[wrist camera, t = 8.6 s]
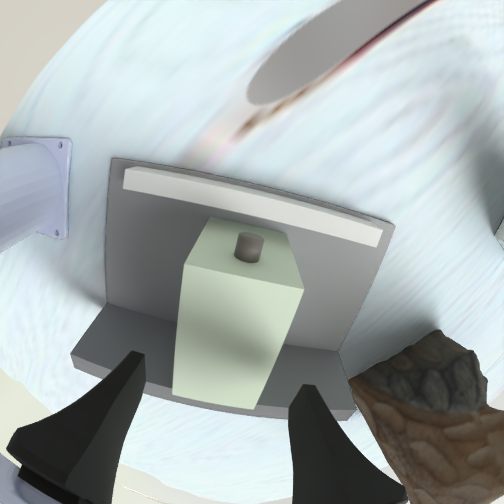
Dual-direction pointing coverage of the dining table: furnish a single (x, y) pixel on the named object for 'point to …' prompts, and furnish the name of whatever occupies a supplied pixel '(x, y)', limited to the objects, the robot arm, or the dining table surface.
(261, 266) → the cabinet block
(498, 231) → the supplement box
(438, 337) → the owl
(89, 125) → the dining table surface
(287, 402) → the grey piece
